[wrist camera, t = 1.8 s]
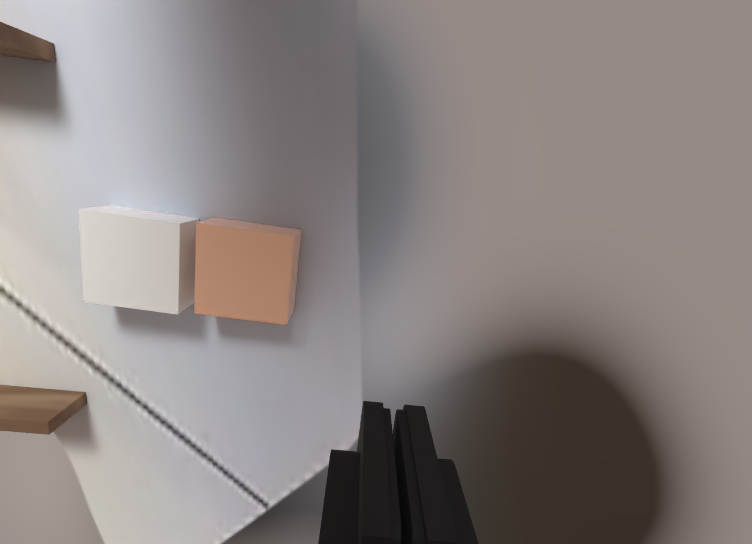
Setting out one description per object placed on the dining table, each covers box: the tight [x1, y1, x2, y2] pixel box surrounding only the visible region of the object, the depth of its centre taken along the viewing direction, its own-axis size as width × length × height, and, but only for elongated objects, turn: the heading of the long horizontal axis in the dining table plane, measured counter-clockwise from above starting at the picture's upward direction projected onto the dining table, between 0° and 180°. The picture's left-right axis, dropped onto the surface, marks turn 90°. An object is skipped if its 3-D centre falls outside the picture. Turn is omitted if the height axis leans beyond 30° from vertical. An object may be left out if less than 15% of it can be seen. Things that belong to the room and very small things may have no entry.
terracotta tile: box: [194, 217, 302, 325], centre depth 25 cm, size 6×6×3 cm
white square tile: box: [78, 205, 199, 314], centre depth 25 cm, size 6×6×3 cm
